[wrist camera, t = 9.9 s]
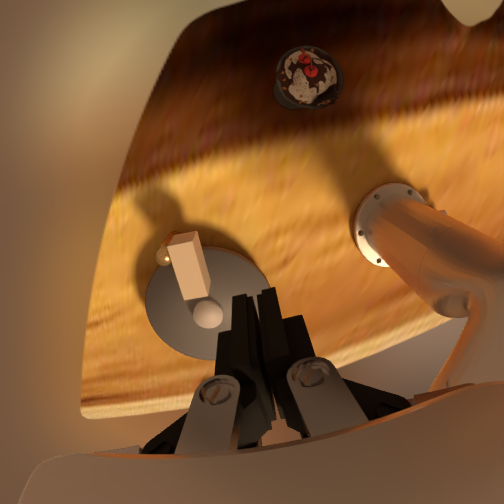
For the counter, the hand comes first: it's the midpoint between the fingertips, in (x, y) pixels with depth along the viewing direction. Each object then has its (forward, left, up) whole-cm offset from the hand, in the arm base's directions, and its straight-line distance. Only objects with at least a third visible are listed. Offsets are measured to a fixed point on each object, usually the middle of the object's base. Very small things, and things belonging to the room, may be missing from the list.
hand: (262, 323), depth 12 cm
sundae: (-8, -12, -29) cm, 33 cm away
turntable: (+8, +14, -27) cm, 31 cm away
